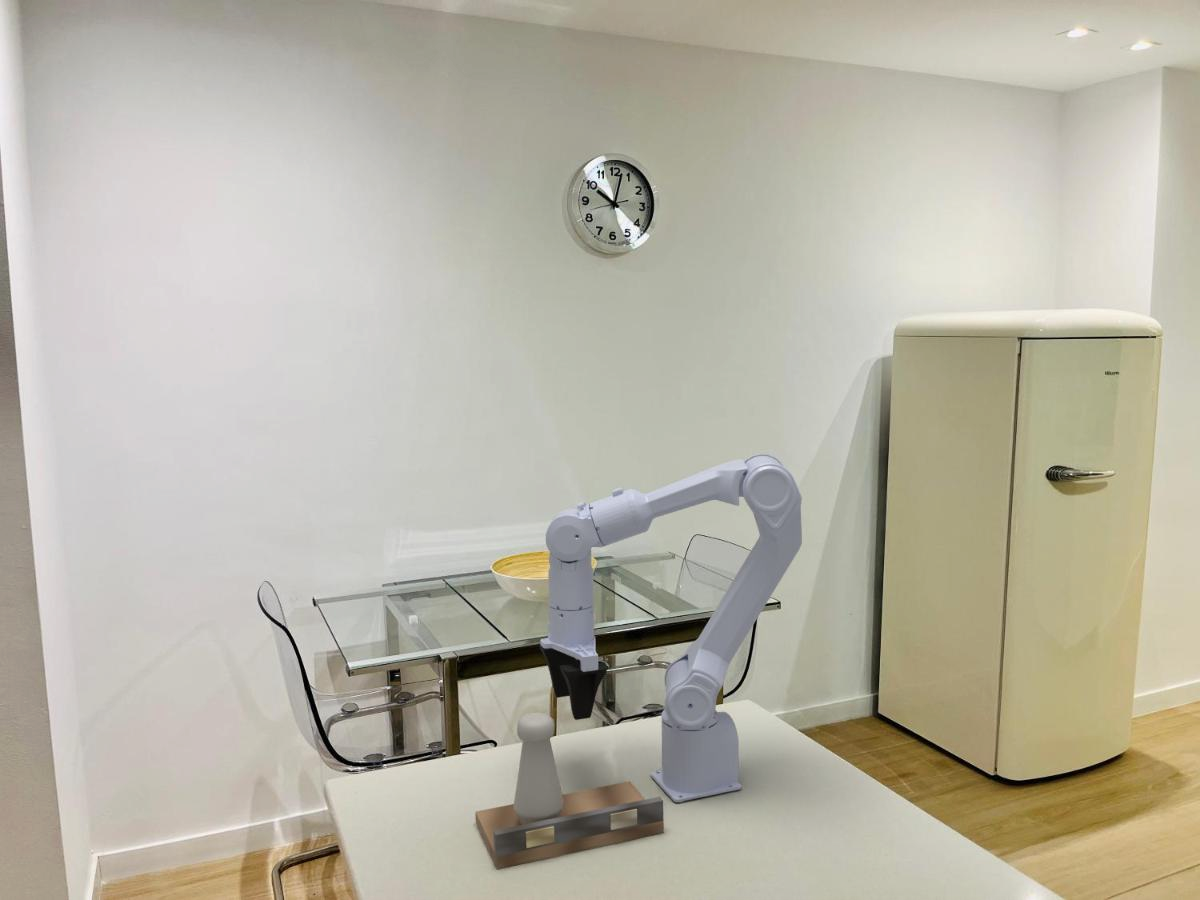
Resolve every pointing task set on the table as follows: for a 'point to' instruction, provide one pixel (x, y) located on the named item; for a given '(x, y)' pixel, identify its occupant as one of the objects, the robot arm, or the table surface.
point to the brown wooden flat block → (571, 825)
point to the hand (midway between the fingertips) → (572, 706)
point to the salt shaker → (537, 771)
